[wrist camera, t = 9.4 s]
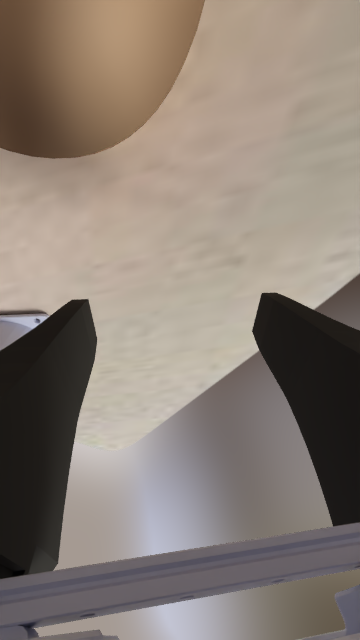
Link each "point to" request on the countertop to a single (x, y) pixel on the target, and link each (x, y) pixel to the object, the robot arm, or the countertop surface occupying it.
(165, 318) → the countertop surface
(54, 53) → the lid
